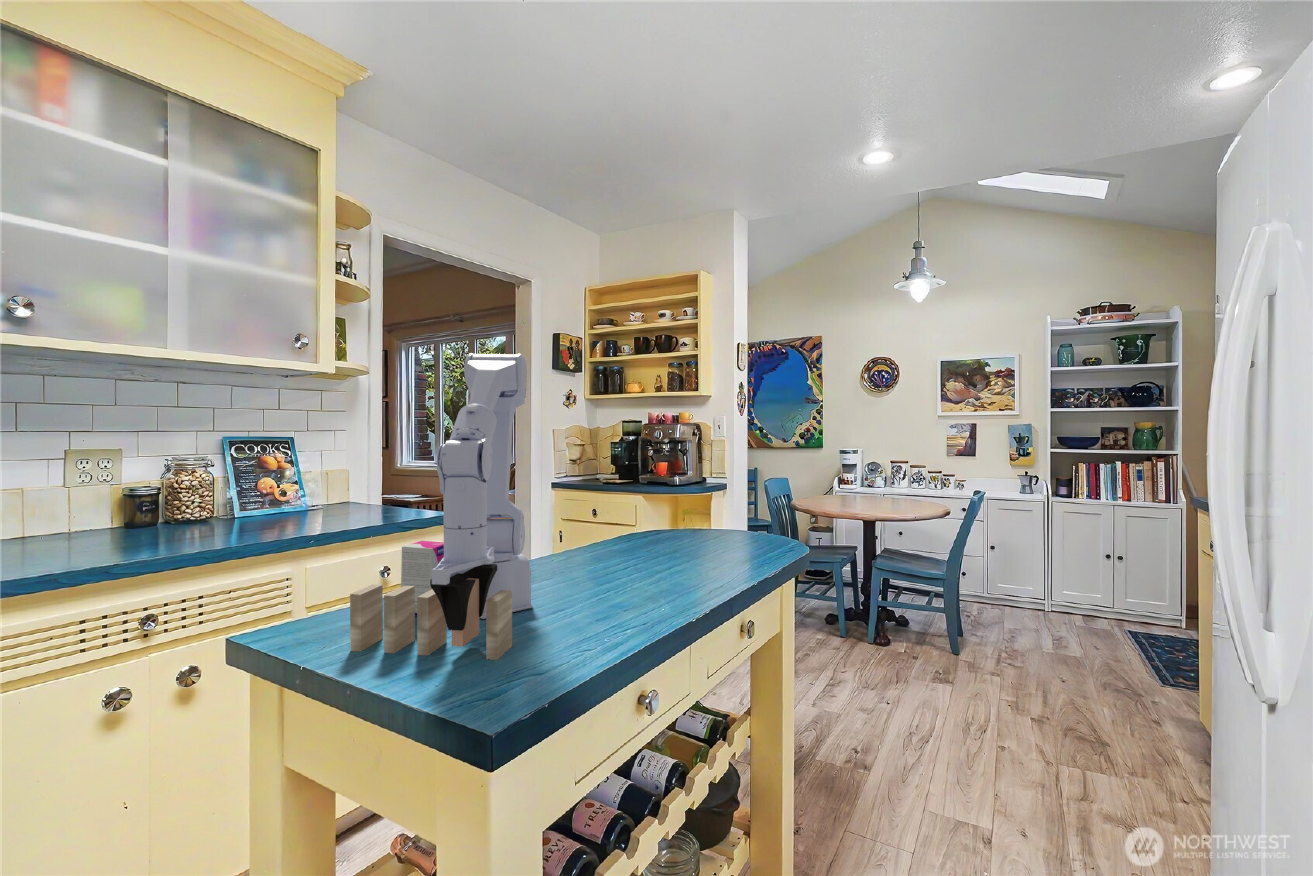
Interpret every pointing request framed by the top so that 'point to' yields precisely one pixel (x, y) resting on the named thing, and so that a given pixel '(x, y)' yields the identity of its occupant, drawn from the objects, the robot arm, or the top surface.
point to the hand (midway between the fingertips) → (465, 622)
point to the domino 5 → (498, 624)
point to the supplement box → (420, 565)
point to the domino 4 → (469, 619)
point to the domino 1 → (366, 617)
